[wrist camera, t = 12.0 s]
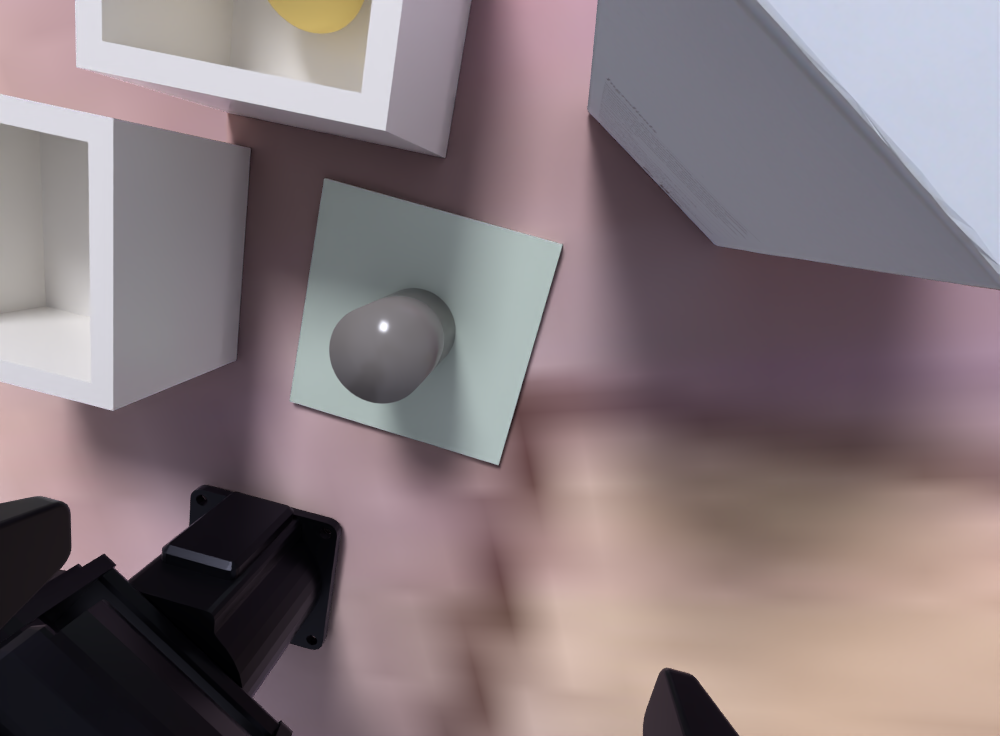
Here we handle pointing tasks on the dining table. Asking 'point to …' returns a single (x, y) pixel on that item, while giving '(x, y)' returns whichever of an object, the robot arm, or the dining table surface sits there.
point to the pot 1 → (115, 254)
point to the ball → (318, 13)
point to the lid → (419, 319)
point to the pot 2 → (290, 63)
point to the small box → (816, 125)
